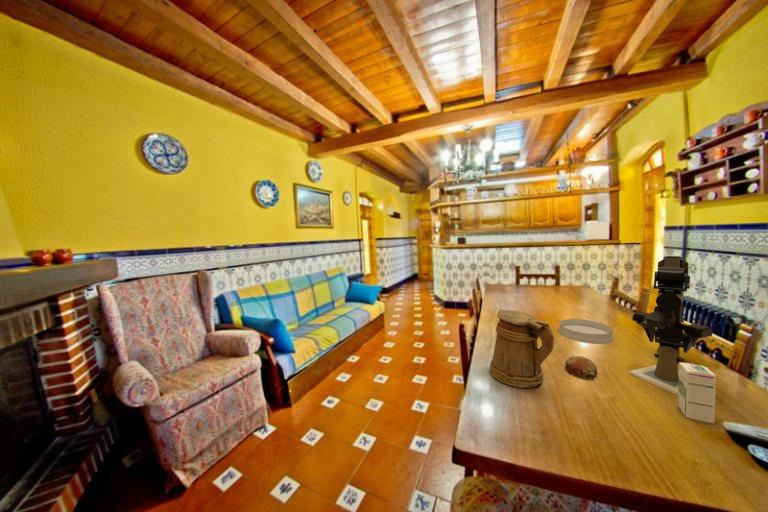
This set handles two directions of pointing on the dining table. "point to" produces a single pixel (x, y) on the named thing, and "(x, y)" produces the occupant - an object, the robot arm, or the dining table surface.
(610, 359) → the dining table surface
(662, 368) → the cork
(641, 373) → the plate
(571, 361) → the bread roll
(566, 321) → the dish
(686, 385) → the syrup box
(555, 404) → the dining table surface
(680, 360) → the robot arm
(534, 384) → the tankard
